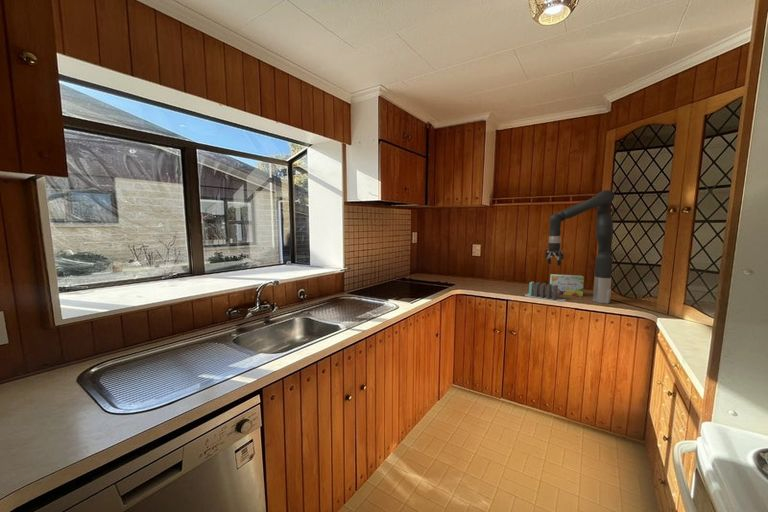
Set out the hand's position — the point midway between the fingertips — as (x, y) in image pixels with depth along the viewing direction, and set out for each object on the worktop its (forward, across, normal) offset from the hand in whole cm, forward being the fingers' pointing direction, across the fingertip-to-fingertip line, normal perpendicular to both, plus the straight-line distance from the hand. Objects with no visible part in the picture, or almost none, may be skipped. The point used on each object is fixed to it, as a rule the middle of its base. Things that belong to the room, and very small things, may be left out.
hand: (553, 264), depth 218 cm
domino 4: (+24, -2, +6) cm, 24 cm away
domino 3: (+24, +1, +8) cm, 25 cm away
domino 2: (+23, +5, +10) cm, 26 cm away
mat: (+24, 0, +7) cm, 25 cm away
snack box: (+24, +4, -15) cm, 29 cm away
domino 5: (+24, -6, +4) cm, 25 cm away
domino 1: (+23, +8, +11) cm, 27 cm away
